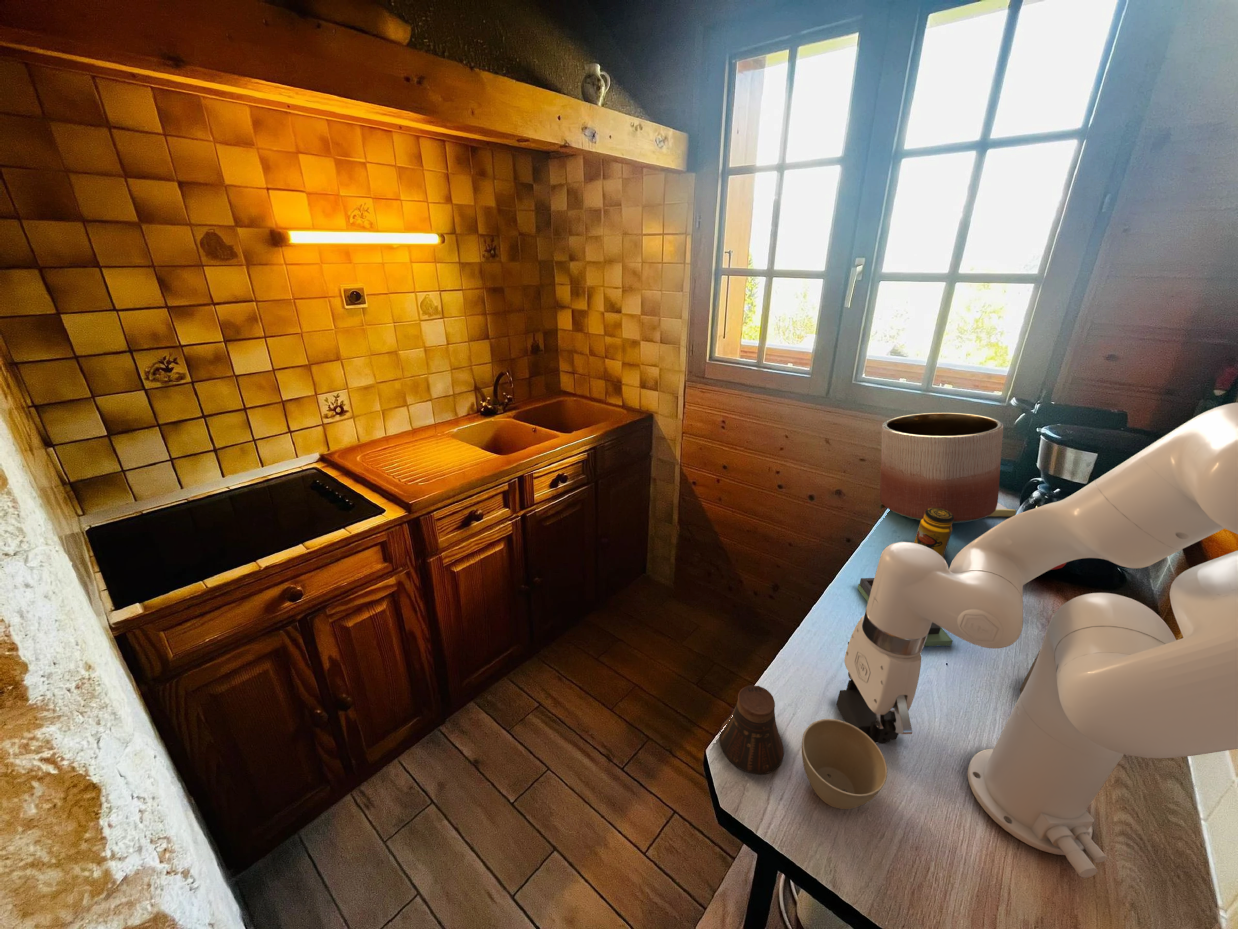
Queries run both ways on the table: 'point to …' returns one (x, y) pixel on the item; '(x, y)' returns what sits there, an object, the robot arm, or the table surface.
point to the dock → (930, 638)
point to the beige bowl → (842, 763)
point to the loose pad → (857, 711)
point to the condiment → (935, 530)
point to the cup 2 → (753, 732)
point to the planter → (941, 465)
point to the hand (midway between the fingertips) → (865, 718)
